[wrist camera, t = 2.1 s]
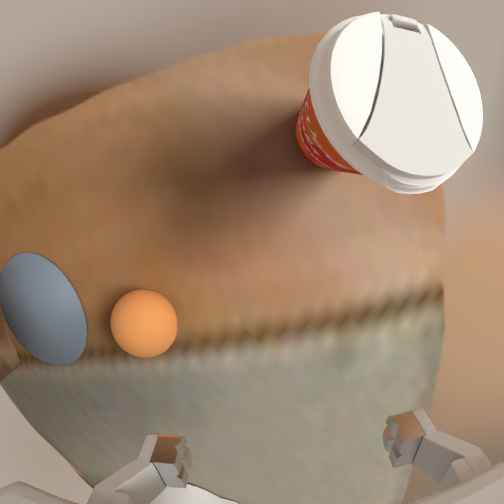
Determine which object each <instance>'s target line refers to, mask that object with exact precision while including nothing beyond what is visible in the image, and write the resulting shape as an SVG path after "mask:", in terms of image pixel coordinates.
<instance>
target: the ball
mask: <svg viewBox="0 0 504 504" xmlns="http://www.w3.org/2000/svg"><path fill="white" fill-rule="evenodd" d="M110 324H111V331H112V334H113V337H114V339H115V340H116V342H117V343H118V345H119V346H120V347H121V348H122V349H123V350H124V351H126V352H127V353H129V354H131V355H133V356H136V357H142V358H149V357H154V356H157V355H159V354H161V353H163V352H164V351H166V350H167V349H168V348H169V347H170V346H171V344H172V343H173V341H174V339H175V337H176V333H177V328H178V322H177V316H176V313H175V310H174V308H173V307H172V305H171V304H170V302H169V301H168V300H167V299H166V298H165V297H163V296H162V295H161V294H159V293H157V292H154V291H151V290H146V289H140V290H134V291H131V292H129V293H127V294H125V295H124V296H122V297H121V298H120V299H119V300H118V302H117V303H116V304H115V306H114V308H113V310H112V314H111V320H110Z"/></svg>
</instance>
